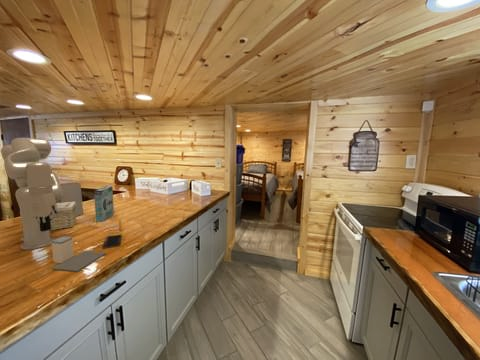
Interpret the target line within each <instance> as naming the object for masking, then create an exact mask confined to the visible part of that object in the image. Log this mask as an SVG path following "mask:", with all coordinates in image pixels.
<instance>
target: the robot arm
mask: <svg viewBox="0 0 480 360" xmlns="http://www.w3.org/2000/svg"><path fill="white" fill-rule="evenodd" d="M0 152H1V156H2V160H3V161H4V163H3V166H4V171H5V173H6V175H7V176H8V178H9V179H12V180H15V183H16V186H17V188H18V189H17V190H15V199H16V201H17V203H18V204H17V205H18V207H19V213H20V212H21V216H20V217H21V226H22V231H23V232H22V234H23V237H21V238H20V241H21V242H22V241H23V243H22V244H21V245H20V249H21V250H22V251H23V250H25V251H27V250H28V251H29V250H34V249H35V250H36V249H41V248H44V247H47V246H49V245H52V244H51V241H53V240H55V239H56V238H54V237H51V230H50V229H51V223H50V221H51V219H52V218H55V217H56V215H55V214H56V213H57V204H56V203H57V202H59V201H61V199H62V198H63V195H64V194H63V189H62V187H61V185H60V184H61V182H60V179H59V177H58V175H57V174H56V173H55V172H54V171H53V168H52V165H50V164H49V163H48V162H46V161H39V160H46V159H48V157H49V155H50V154H51V152H52V146H51V143H50V142H49V140H46V139H45V138H39V137H38V138H36V137H35V138H34V137H17V138H14V139H13V140H12V141H11V142H10V144H7V145H4V146H3V147H1V148H0ZM38 161H39V162H38Z"/></svg>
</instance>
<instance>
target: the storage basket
mask: <svg viewBox="0 0 480 360" xmlns="http://www.w3.org/2000/svg"><path fill="white" fill-rule="evenodd" d="M56 204H57V213H56V214H55V215H56V217H55V218H52V219H51V221H50V223H51V229H50V231H57V229H58V230H63V228H64V229H68V228H73V227H74V226H75V223H76V218H77V216H76V215H75V213H76V212H75V206H76V202H65V203H61V202H56ZM19 213H20V214H19V216H20V217H21V212H20V211H19ZM75 216H76V217H75Z"/></svg>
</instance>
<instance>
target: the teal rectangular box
mask: <svg viewBox="0 0 480 360" xmlns="http://www.w3.org/2000/svg"><path fill="white" fill-rule="evenodd" d="M113 194H114V193H113V186H112V185H105V186H103V187H100V188H98V189H95V190H93V196H94V197H93V198H94V211H95V213H94V215H95V222H96V223H101V222H105V221H107V220H108V219H109V218H110V217H112V215H114V214H115V209H114V208H115V207H114V195H113Z"/></svg>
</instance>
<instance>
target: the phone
mask: <svg viewBox="0 0 480 360" xmlns="http://www.w3.org/2000/svg"><path fill="white" fill-rule="evenodd" d="M122 237H123V235H122V234H117V235H116V234H114V235H109V236H106V237H105V239H104V242H103V244H102V249H103V250H105V249H112V248H116V247H120V246H121V243H122Z"/></svg>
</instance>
